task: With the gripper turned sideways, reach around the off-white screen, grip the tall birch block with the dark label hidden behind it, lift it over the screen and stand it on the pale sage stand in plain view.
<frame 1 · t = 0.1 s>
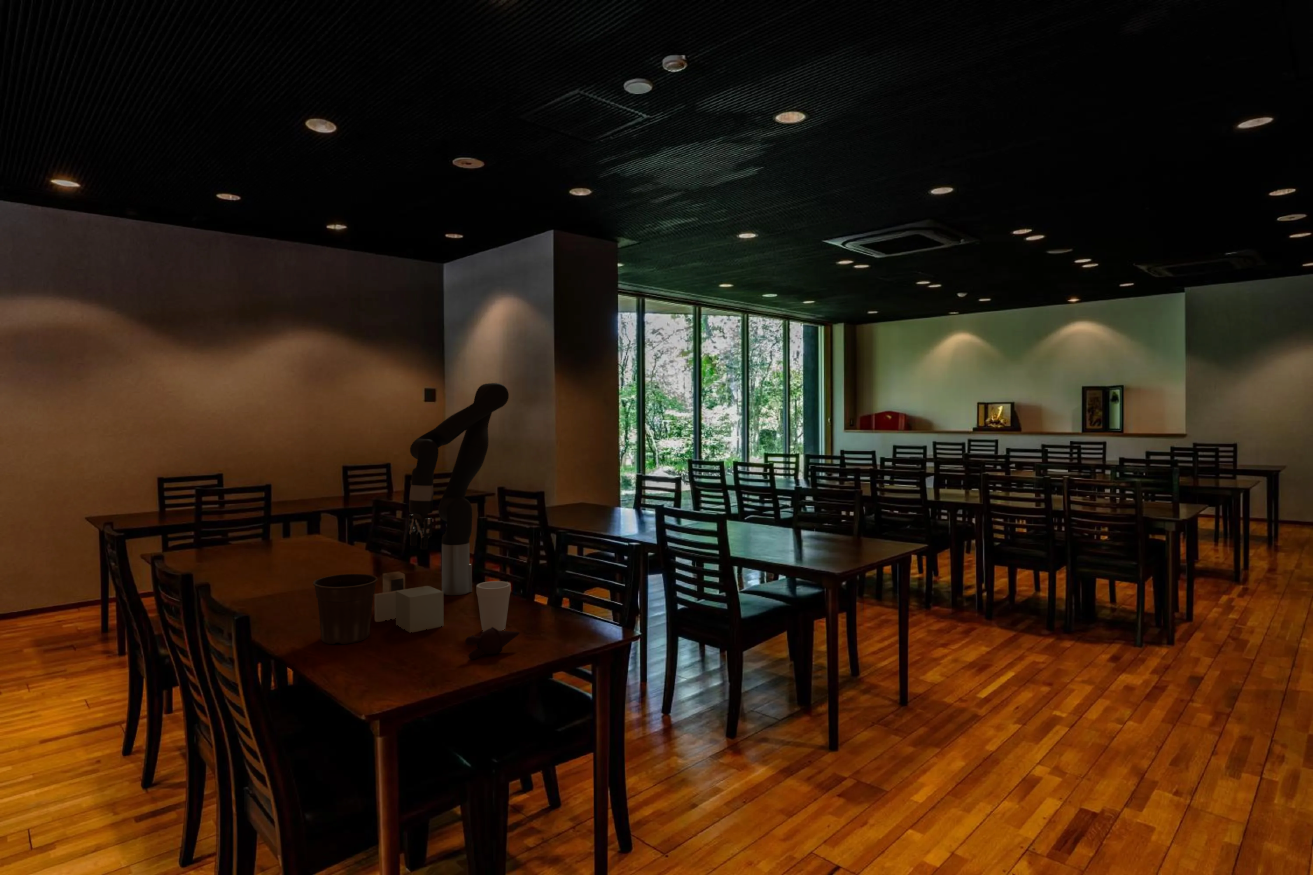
hand: (418, 547, 239), 17 cm above the table, tool pointing down, fingers open, 8 cm apart
plant pot: (346, 638, 196), on the table
stand: (419, 625, 209), on the table
icecream: (493, 654, 184), on the table
foam cup: (493, 630, 205), on the table
screen: (402, 616, 218), on the table
birch block: (393, 612, 223), on the table
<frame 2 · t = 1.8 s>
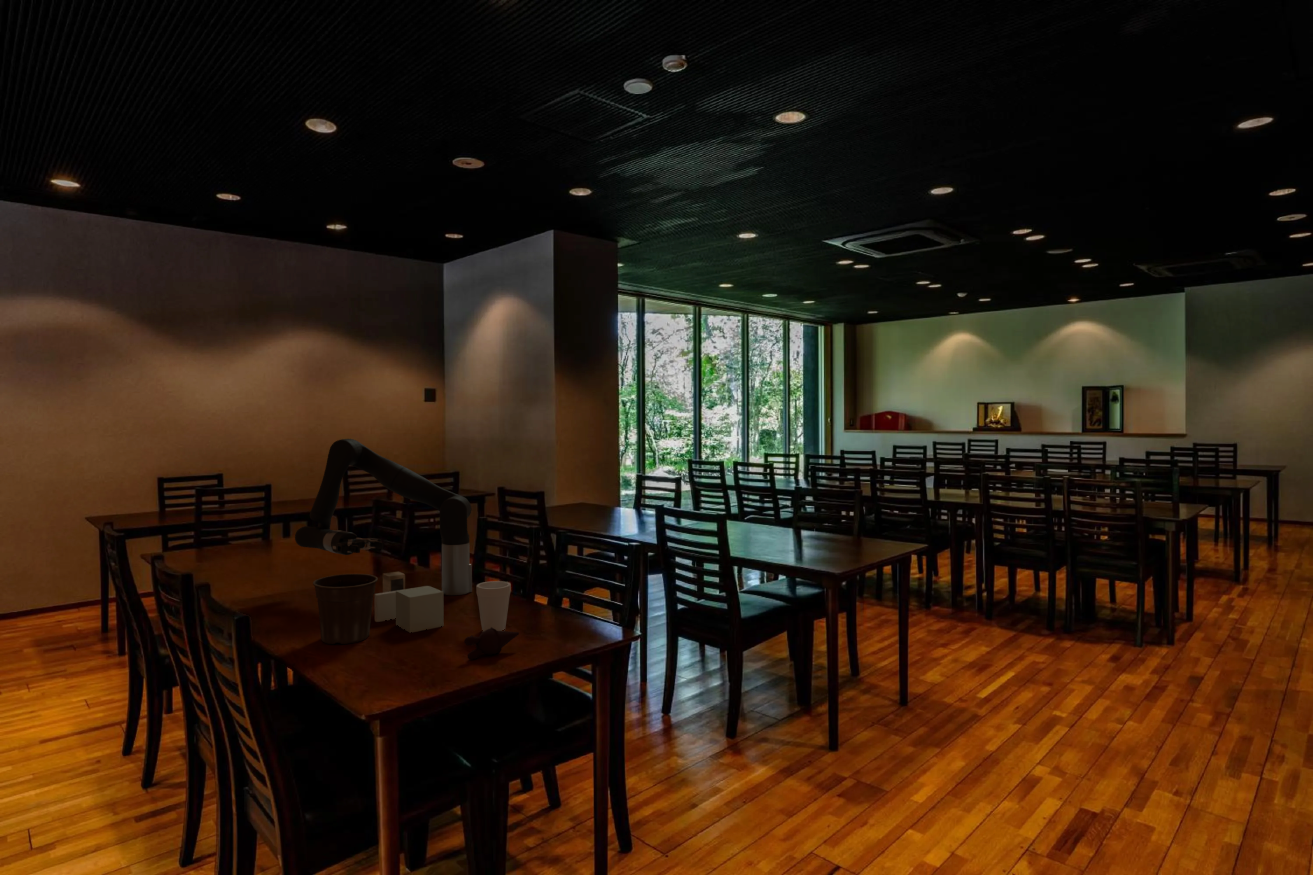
hand: (371, 547, 228), 19 cm above the table, tool horizontal, fingers open, 8 cm apart
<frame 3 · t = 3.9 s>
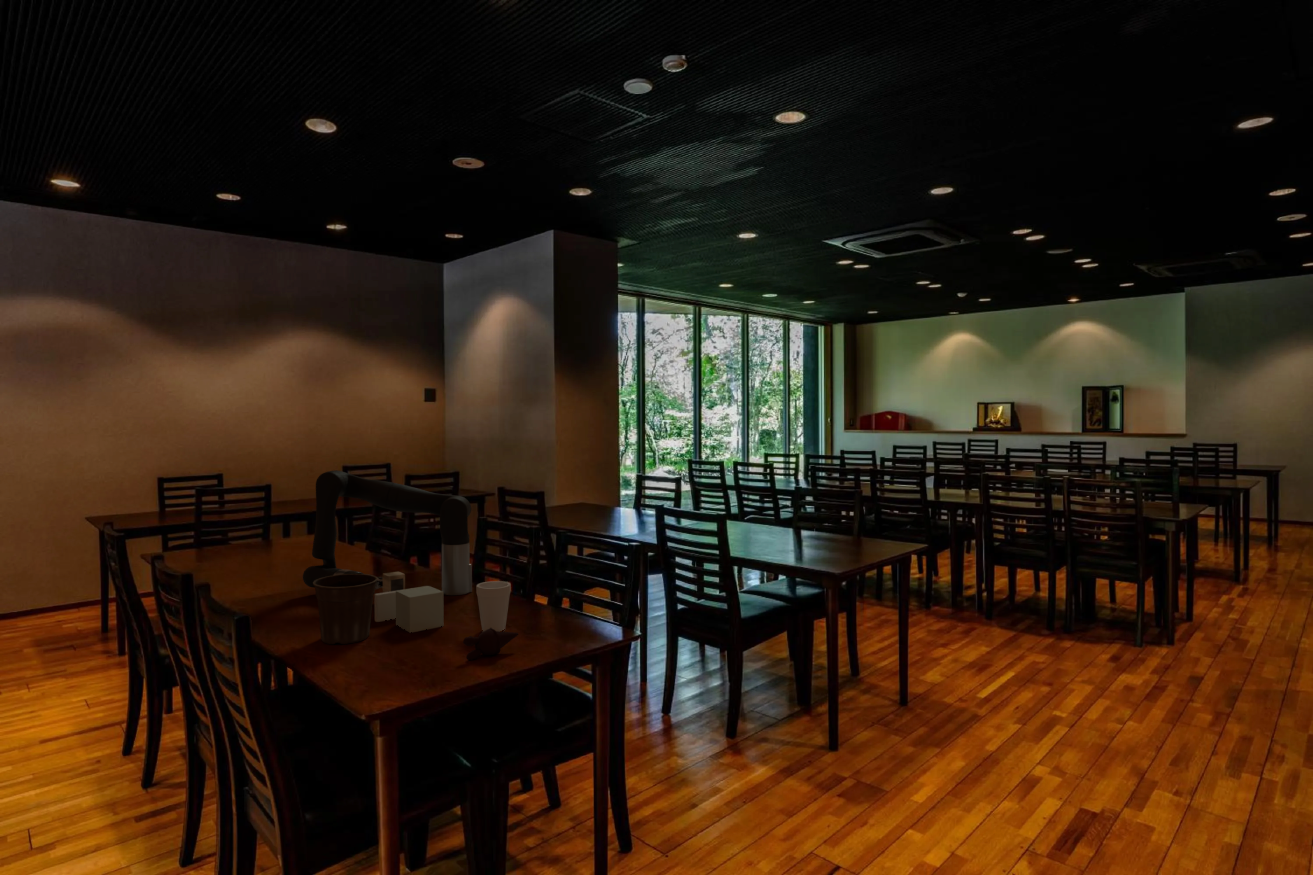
hand: (379, 588, 226), 7 cm above the table, tool horizontal, fingers open, 8 cm apart
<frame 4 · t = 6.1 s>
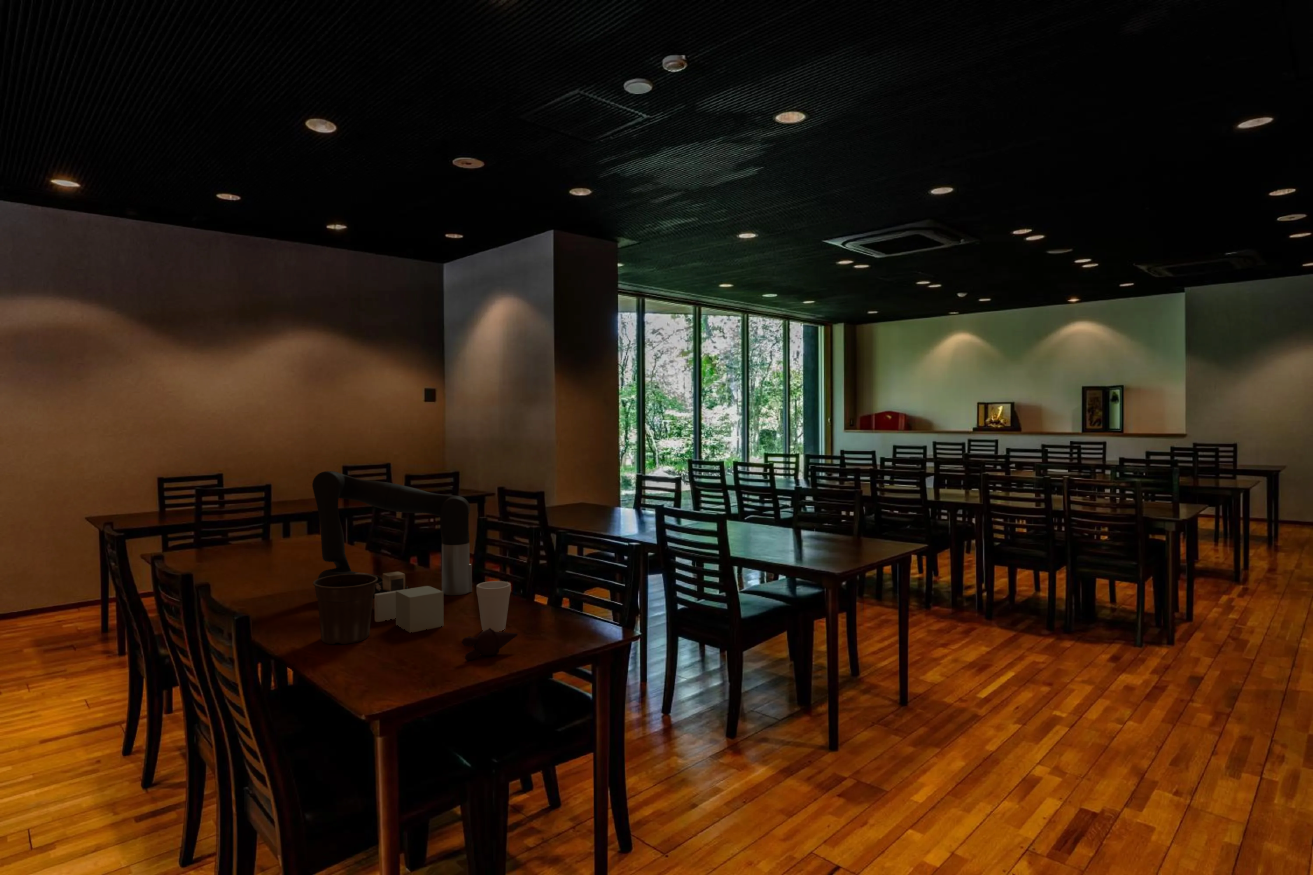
hand: (398, 592, 221), 7 cm above the table, tool horizontal, fingers closed on birch block, 6 cm apart
birch block: (394, 612, 223), on the table, touching gripper
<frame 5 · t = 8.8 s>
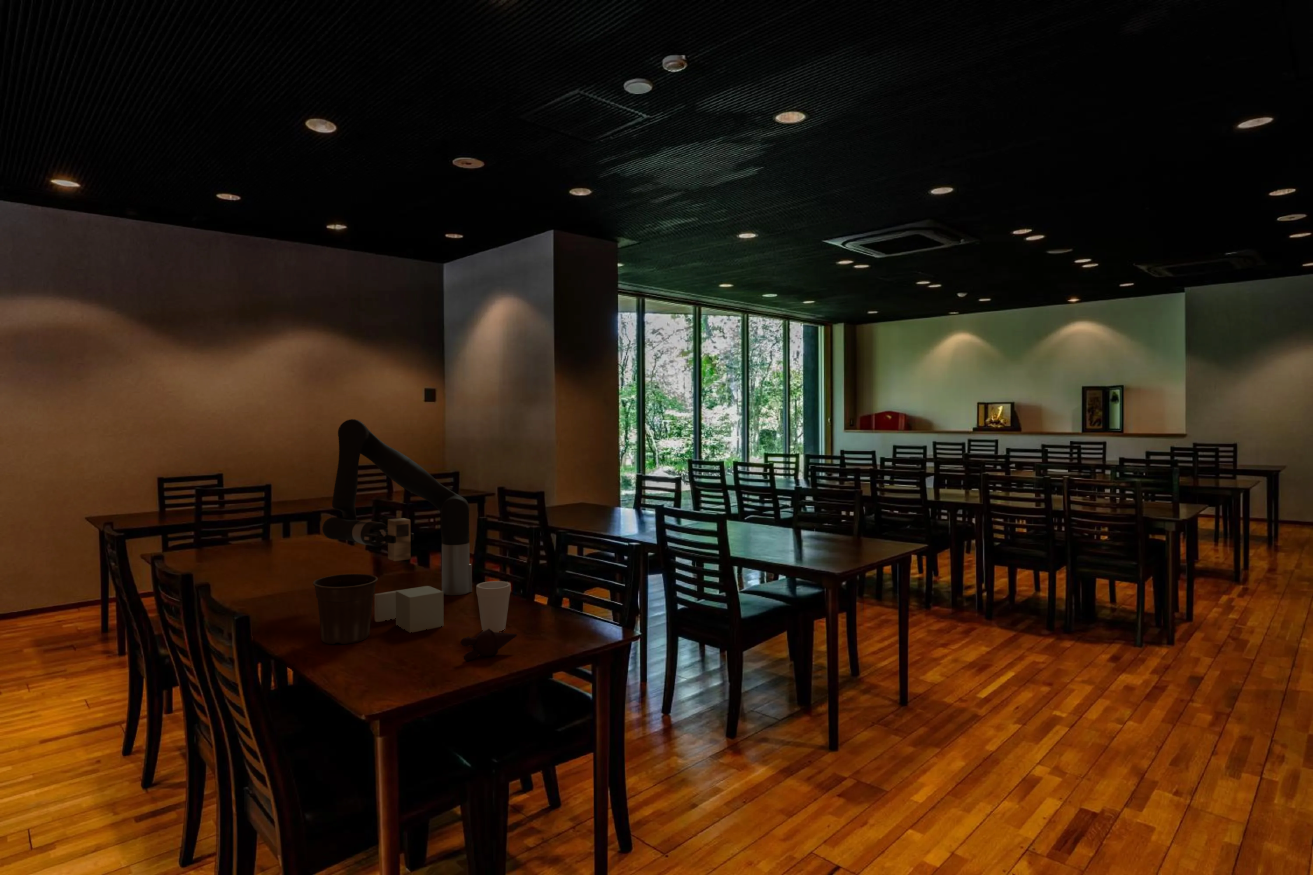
hand: (404, 538, 217), 24 cm above the table, tool horizontal, fingers closed on birch block, 6 cm apart
birch block: (399, 558, 219), point 17 cm above the table, touching gripper
when the fingers open (18 cm above the table, at t = 11.5 s): birch block drops 1 cm, resting on stand.
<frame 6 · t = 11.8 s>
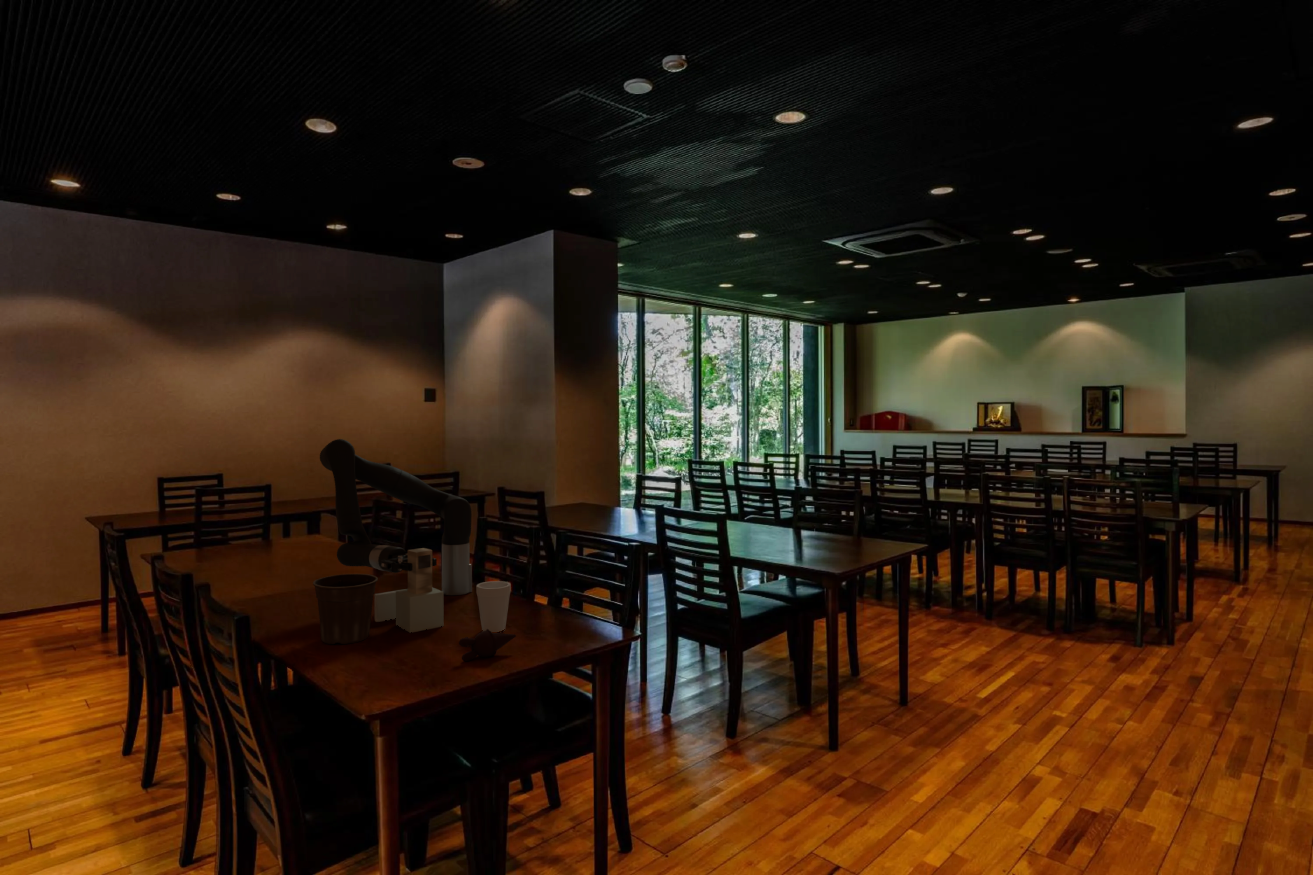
hand: (423, 564, 207), 18 cm above the table, tool horizontal, fingers open, 8 cm apart
birch block: (420, 591, 209), point 10 cm above the table, touching stand
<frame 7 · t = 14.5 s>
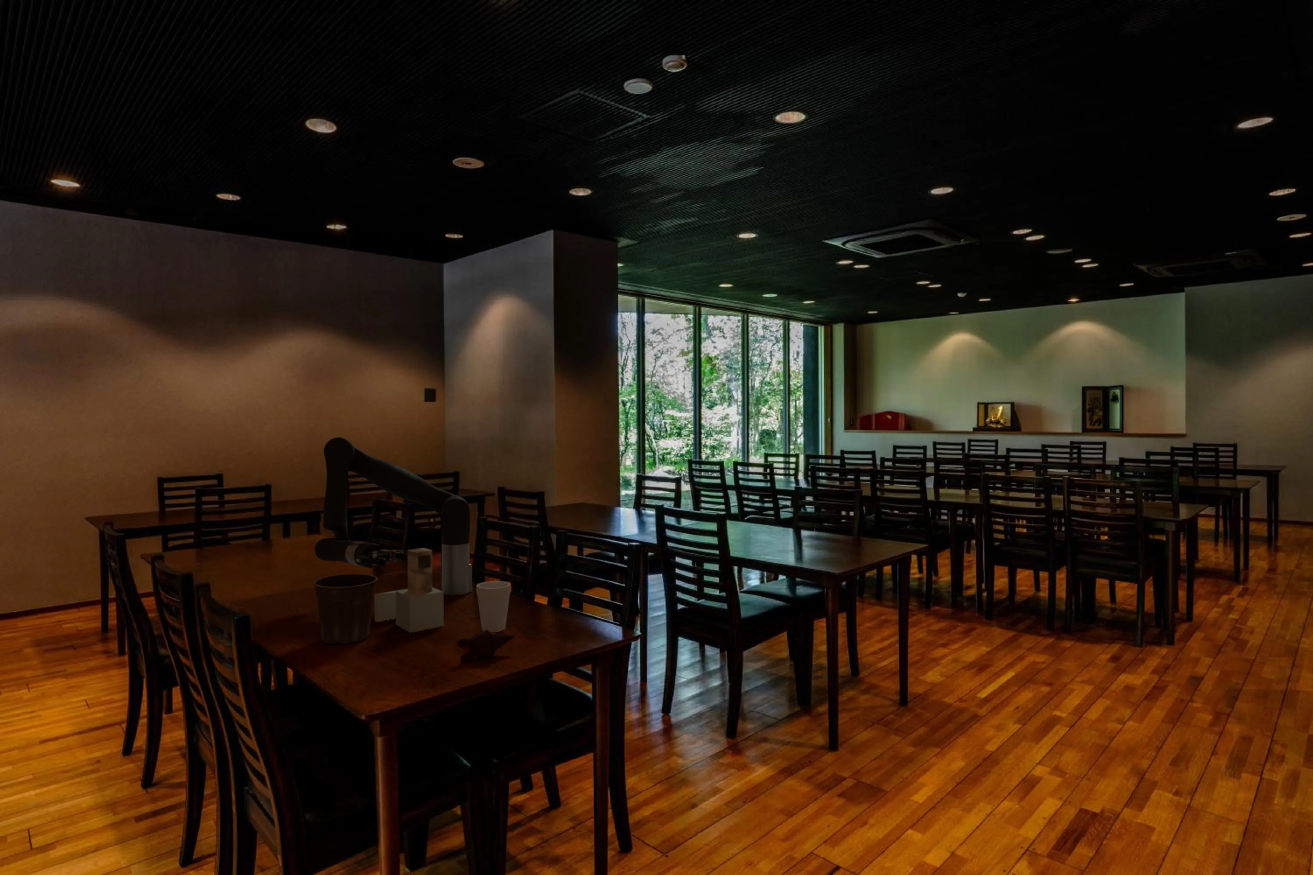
hand: (397, 560, 214), 18 cm above the table, tool horizontal, fingers open, 8 cm apart
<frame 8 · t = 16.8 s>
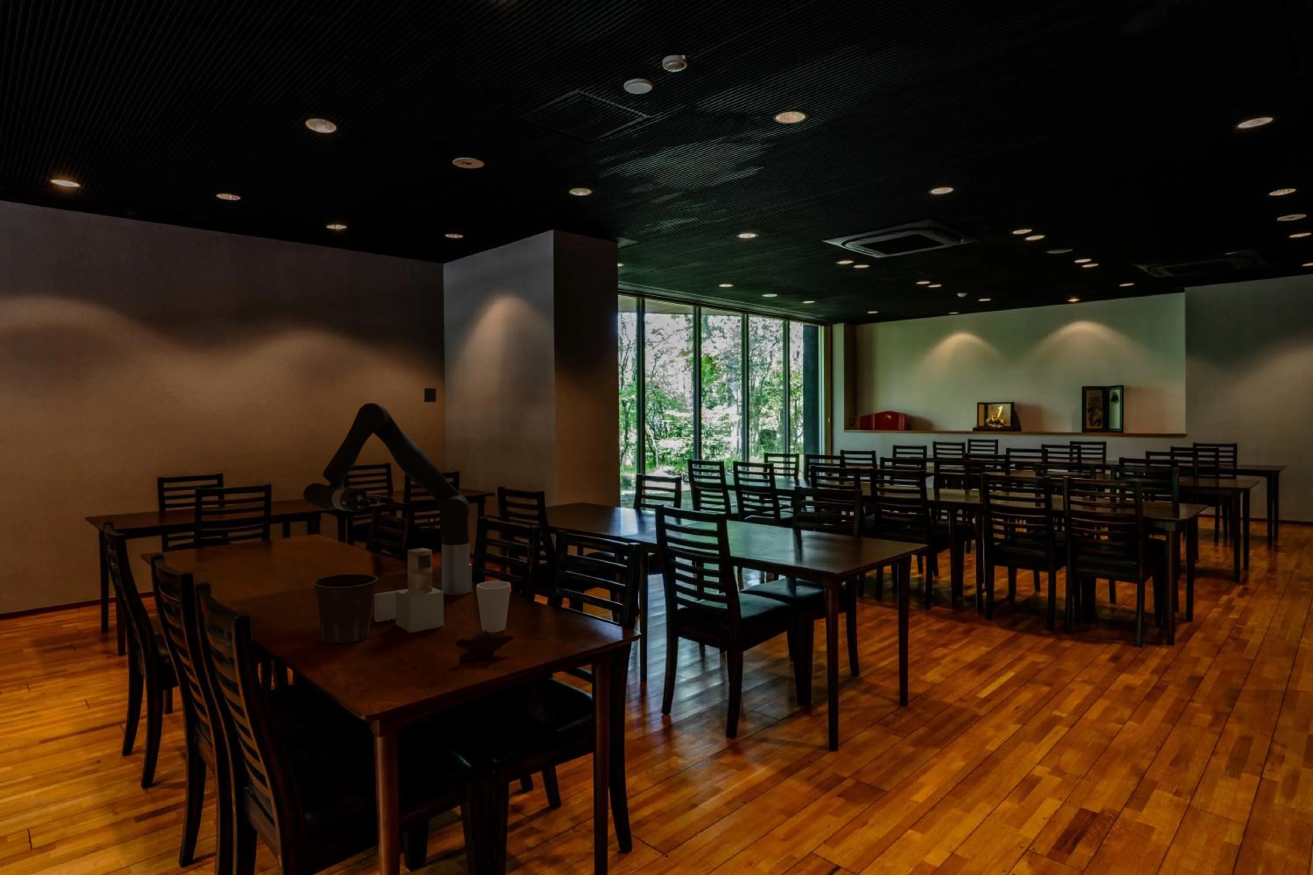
hand: (381, 502, 223), 34 cm above the table, tool horizontal, fingers open, 8 cm apart
at the end: birch block inside the target area on the stand (0.3 cm from its centre), point 10.0 cm above the stand's base; birch block tilted 0°; the gripper is holding nothing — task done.
